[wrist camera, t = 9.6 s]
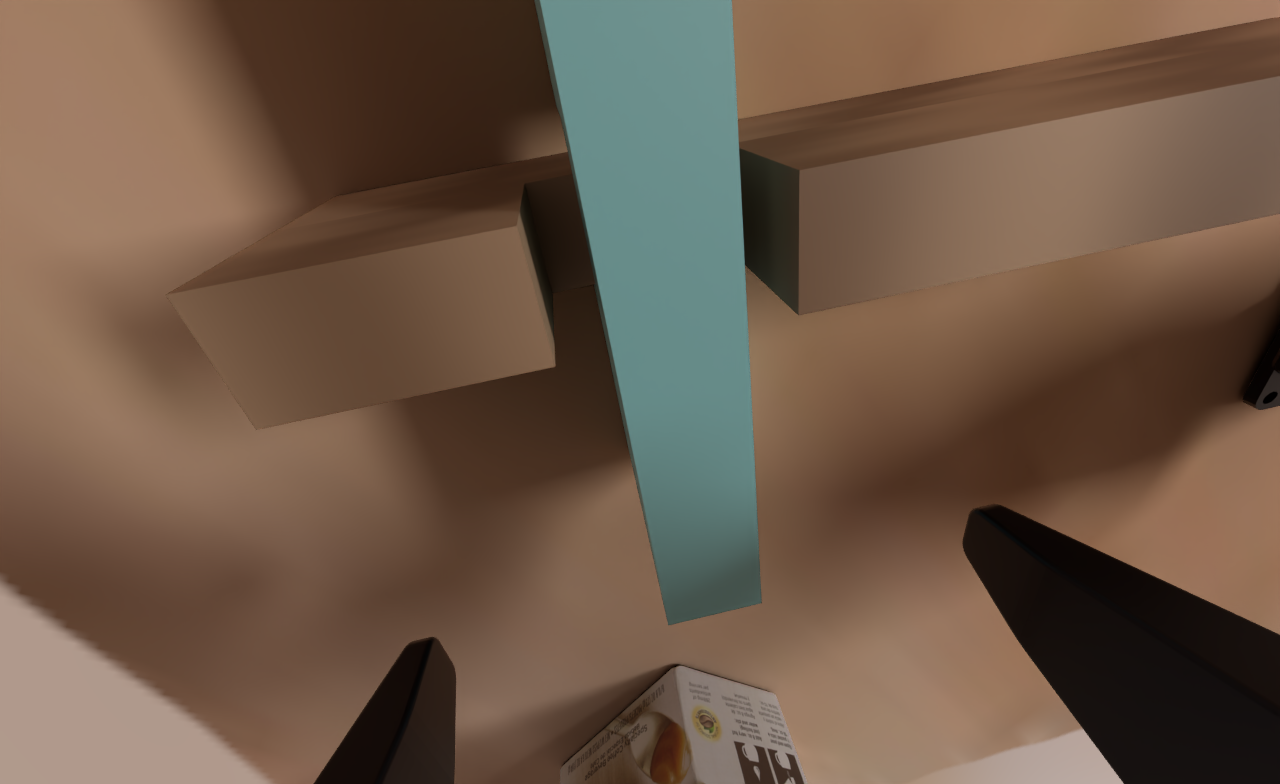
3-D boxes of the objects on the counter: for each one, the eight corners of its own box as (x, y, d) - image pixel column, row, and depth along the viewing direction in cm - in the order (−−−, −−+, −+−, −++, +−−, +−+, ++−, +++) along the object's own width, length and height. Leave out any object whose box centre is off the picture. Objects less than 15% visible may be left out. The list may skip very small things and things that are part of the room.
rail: (1273, 17, 12) (1778, -23, 7) (1236, 112, 14) (1654, 134, 8) (335, 195, 11) (165, 295, 6) (374, 284, 12) (255, 429, 7)
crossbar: (469, -308, 8) (344, -949, 3) (596, -327, 8) (683, -977, 3) (629, 450, 16) (668, 625, 11) (693, 436, 16) (761, 602, 11)
